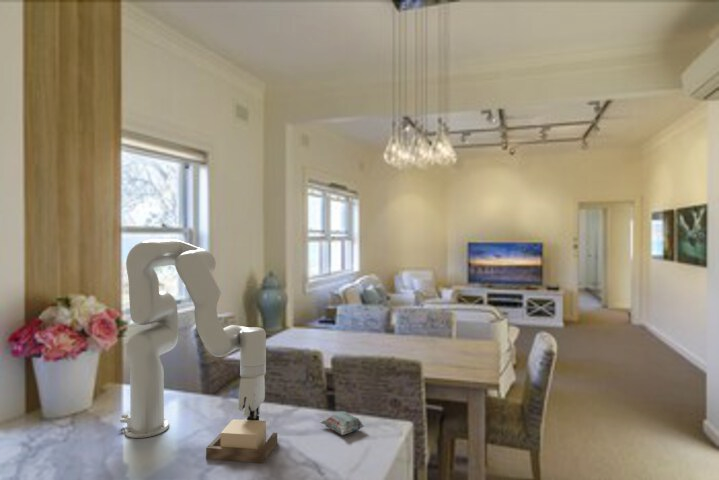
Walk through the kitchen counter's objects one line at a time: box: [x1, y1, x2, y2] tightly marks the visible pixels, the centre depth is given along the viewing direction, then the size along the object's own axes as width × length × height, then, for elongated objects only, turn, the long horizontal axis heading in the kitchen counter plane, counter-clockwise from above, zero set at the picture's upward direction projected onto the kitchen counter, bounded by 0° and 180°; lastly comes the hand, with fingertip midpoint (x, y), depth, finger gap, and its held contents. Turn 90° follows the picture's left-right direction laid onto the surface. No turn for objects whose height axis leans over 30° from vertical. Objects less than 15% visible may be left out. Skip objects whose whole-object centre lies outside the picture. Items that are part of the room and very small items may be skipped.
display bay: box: [205, 432, 278, 464], centre depth 126 cm, size 16×12×3 cm
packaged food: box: [319, 411, 365, 436], centre depth 139 cm, size 9×12×5 cm
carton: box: [220, 418, 267, 450], centre depth 126 cm, size 10×9×7 cm
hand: (253, 429), depth 133 cm, fingers closed
